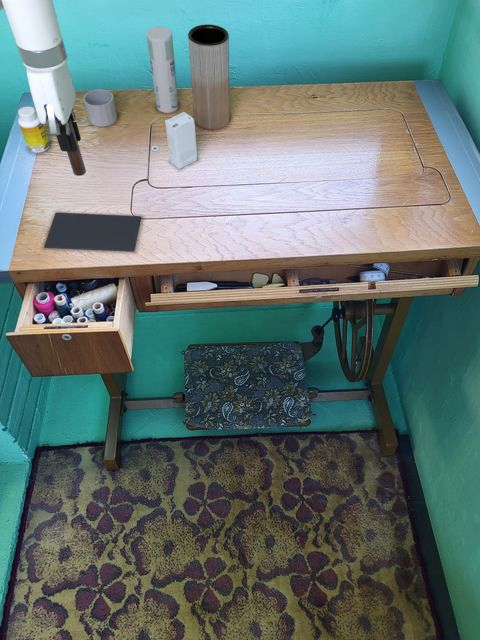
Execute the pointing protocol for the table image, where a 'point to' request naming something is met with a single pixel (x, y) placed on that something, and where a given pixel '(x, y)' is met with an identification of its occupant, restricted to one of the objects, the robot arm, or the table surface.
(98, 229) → the felt mat
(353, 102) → the table surface
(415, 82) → the table surface
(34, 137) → the supplement bottle
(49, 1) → the robot arm
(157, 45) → the spray can
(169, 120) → the cosmetic box
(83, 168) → the walnut stick
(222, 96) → the planter
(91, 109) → the tin
